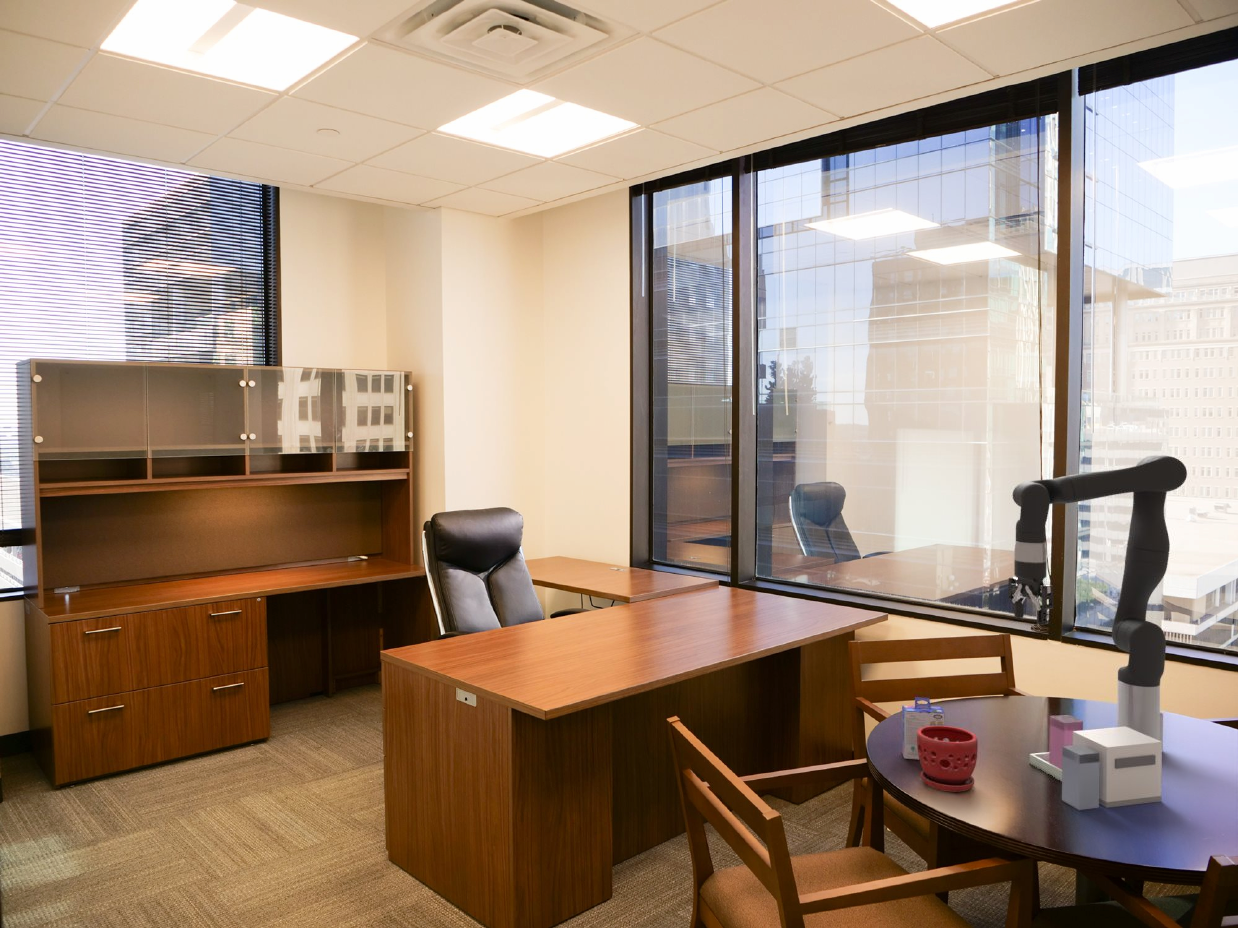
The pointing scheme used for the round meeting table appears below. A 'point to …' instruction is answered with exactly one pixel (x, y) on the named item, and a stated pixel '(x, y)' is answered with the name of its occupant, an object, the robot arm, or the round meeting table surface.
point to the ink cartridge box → (918, 724)
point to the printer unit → (1125, 765)
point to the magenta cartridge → (1061, 736)
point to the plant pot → (947, 757)
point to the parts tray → (1045, 764)
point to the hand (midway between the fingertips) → (1029, 620)
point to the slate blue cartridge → (1080, 777)
